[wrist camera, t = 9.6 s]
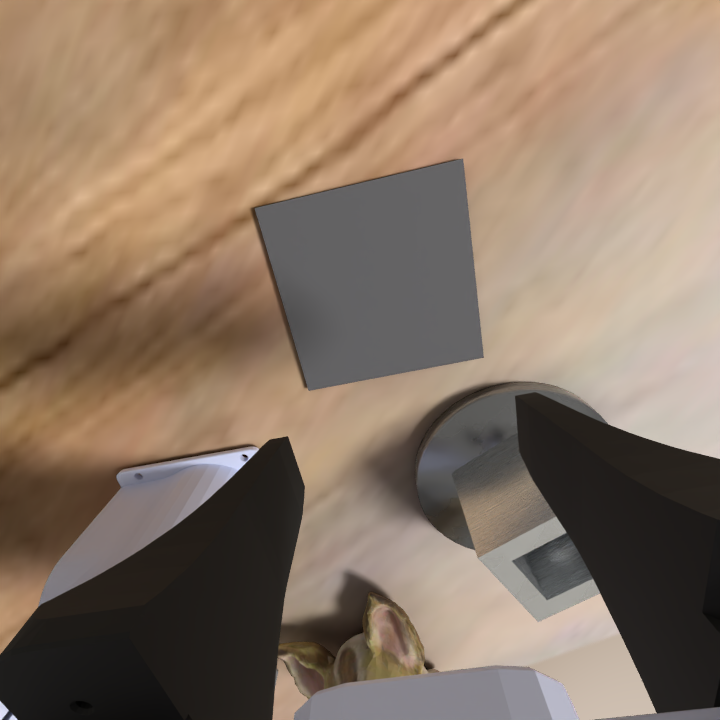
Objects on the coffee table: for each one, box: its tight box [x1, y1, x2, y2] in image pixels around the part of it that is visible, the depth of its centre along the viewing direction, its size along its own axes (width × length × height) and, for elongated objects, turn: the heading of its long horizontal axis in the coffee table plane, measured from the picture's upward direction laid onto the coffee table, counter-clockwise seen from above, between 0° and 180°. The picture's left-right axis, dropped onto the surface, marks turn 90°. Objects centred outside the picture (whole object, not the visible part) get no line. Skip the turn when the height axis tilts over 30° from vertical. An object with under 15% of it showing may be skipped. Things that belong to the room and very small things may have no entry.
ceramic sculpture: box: [278, 592, 439, 699], centre depth 28 cm, size 11×9×15 cm
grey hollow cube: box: [451, 432, 600, 622], centre depth 20 cm, size 6×6×6 cm
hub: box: [415, 382, 608, 550], centre depth 22 cm, size 12×12×5 cm
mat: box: [255, 159, 484, 391], centre depth 20 cm, size 10×10×1 cm
